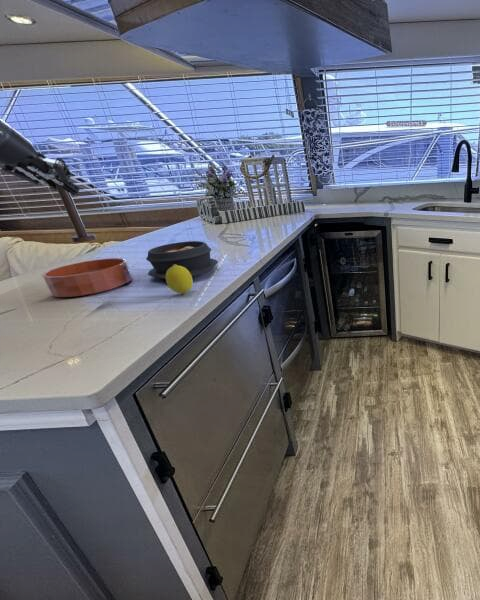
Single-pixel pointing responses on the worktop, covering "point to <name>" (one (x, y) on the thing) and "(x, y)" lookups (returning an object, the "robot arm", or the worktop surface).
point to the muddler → (73, 216)
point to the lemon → (179, 279)
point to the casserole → (181, 258)
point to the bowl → (87, 277)
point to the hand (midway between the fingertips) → (71, 192)
